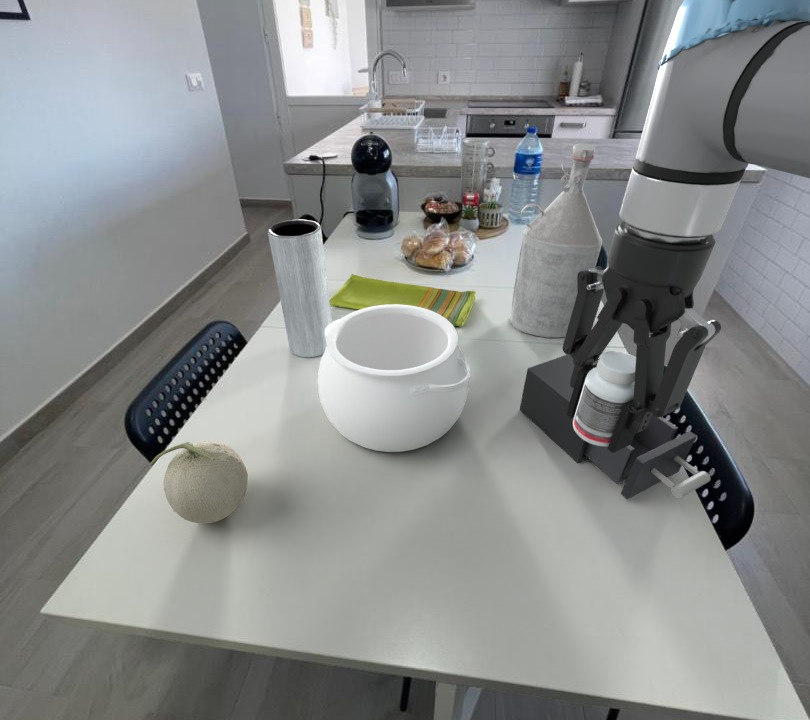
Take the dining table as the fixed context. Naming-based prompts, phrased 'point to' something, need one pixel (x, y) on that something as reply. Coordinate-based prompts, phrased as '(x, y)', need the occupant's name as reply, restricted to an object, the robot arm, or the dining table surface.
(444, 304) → the dish towel
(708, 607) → the dining table surface
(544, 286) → the grey jug
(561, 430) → the grey drawer box
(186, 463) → the fruit
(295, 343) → the vase
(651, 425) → the pulled-out drawer
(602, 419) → the pill bottle
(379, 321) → the pot
